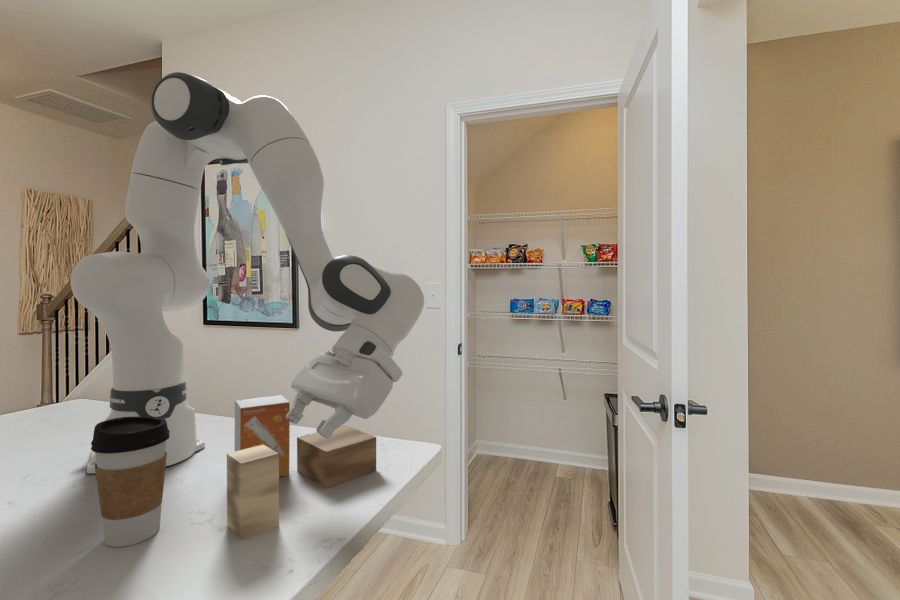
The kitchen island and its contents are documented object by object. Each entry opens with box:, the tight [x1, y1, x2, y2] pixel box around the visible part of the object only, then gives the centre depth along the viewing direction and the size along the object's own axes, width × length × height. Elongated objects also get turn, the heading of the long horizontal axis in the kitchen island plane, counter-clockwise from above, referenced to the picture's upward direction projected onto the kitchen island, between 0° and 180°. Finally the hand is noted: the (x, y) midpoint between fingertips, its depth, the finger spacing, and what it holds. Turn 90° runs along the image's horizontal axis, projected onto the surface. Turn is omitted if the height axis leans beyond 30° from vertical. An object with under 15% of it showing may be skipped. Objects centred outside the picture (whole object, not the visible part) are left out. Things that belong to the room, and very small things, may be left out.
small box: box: [234, 394, 291, 478], centre depth 77 cm, size 8×6×13 cm
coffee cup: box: [90, 417, 170, 548], centre depth 58 cm, size 8×8×15 cm
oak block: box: [226, 445, 280, 541], centre depth 61 cm, size 5×5×10 cm
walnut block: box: [296, 424, 377, 489], centre depth 79 cm, size 10×10×6 cm
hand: (305, 427), depth 66 cm, fingers open, 8 cm apart
